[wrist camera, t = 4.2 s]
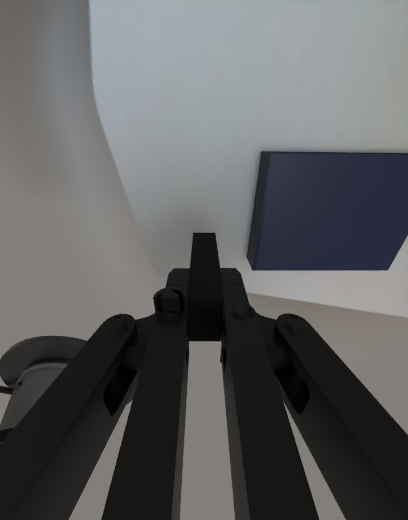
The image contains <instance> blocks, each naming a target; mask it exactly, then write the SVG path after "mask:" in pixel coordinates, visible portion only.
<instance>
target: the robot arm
mask: <svg viewBox="0 0 408 520" xmlns="http://www.w3.org/2000/svg"><path fill="white" fill-rule="evenodd" d="M153 299H154V305H155V313H154V314H152V315H151V316H148V317H145V318H141V319H137V320H135V319H134V318H133V317H132V316H131V315H128V314H119V315H114V316H112V317H111V318H108V319H107V320H106V321H105V322H104V323H103V324H102V325H101V326H100V327H99V328H98V329H97V331H96V332H95V333H94V334H93V335H92V336H91V338H90V339H89V340H88V341H87V342H86V343H85V345H84V346H83V347H82V348H81V349H80V351H79V352H78V353H77V354H76V355H75V356H74V358H73V359H67V358H48V359H42V360H38V361H36V362H33V363H32V364H30V365H29V366H28V367H27V368H26V369H25V370H24V372H23V373H22V374H21V376H20V377H19V379H18V381H17V383H16V385H15V387H14V388H9V387H4V386H0V393H5V394H11V398H10V400H9V403H8V406H7V408H6V411H5V414H4V417H3V419H2V422H1V424H0V520H69V517H70V516H71V514H72V512H73V510H74V508H75V506H76V503H77V502H78V500H79V497H80V496H81V494H82V492H83V490H84V488H85V486H86V484H87V482H88V480H89V478H90V476H91V474H92V472H93V470H94V468H95V466H96V464H97V461H98V460H99V458H100V456H101V454H102V452H103V450H104V448H105V446H106V444H107V442H108V440H109V438H110V436H111V434H112V432H113V430H114V428H115V426H116V424H117V422H118V420H119V418H120V416H121V414H122V412H123V410H124V408H125V406H126V404H127V402H128V400H129V398H130V396H131V394H132V392H133V390H134V388H135V386H136V389H135V393H134V397H133V401H132V405H131V409H130V413H129V416H128V420H127V424H126V427H125V431H124V435H123V439H122V443H121V447H120V450H119V454H118V458H117V462H116V466H115V470H114V474H113V477H112V481H111V485H110V489H109V492H108V497H107V500H106V504H105V508H104V512H103V516H102V519H101V520H180V503H181V502H180V501H181V486H182V468H183V450H184V433H185V414H186V397H187V379H188V363H189V341H221V343H222V346H221V357H220V362H222V370H223V382H224V394H225V404H226V417H227V429H228V441H229V452H230V464H231V474H232V488H233V499H234V511H235V520H319V517H318V514H317V511H316V507H315V504H314V501H313V497H312V494H311V491H310V488H309V484H308V481H307V478H306V475H305V472H304V468H303V465H302V461H301V458H300V455H299V452H298V448H297V445H296V442H295V439H294V435H293V432H292V429H291V426H290V423H289V419H288V416H287V412H286V409H285V406H284V403H285V405H286V407H287V409H288V410H289V412H290V414H291V416H292V418H293V420H294V422H295V424H296V425H297V428H298V429H299V431H300V433H301V435H302V437H303V439H304V441H305V443H306V445H307V447H308V448H309V450H310V452H311V454H312V456H313V458H314V460H315V462H316V464H317V465H318V467H319V469H320V471H321V473H322V475H323V477H324V479H325V481H326V482H327V484H328V486H329V488H330V490H331V492H332V494H333V496H334V498H335V500H336V501H337V503H338V505H339V507H340V509H341V511H342V513H343V515H344V517H345V519H346V520H408V435H407V434H406V433H405V432H404V430H403V429H402V428H401V427H400V426H399V425H398V424H397V422H396V421H395V420H394V419H393V418H392V417H391V416H390V414H389V413H388V412H387V411H386V410H385V409H384V408H383V407H382V405H381V404H380V403H379V402H378V401H377V400H376V399H375V397H374V396H373V395H372V394H371V393H370V392H369V391H368V390H367V388H366V387H365V386H364V385H363V384H362V383H361V382H360V380H359V379H358V378H357V377H356V376H355V375H354V374H353V373H352V372H351V370H350V369H349V368H348V367H347V366H346V365H345V363H344V362H343V361H342V360H341V359H340V358H339V357H338V356H337V354H336V353H335V352H334V351H333V350H332V349H331V348H330V346H329V345H328V344H327V343H326V342H325V341H324V340H323V339H322V337H321V336H320V335H319V334H318V333H317V332H316V331H315V330H314V328H313V327H312V326H311V325H310V324H309V323H308V322H307V321H306V320H305V319H303V318H302V317H300V316H298V315H294V314H283V315H280V316H279V317H278V318H277V320H275V319H271V318H267V317H264V316H261V315H259V314H257V313H256V312H255V310H254V308H253V307H251V306H250V304H249V301H248V298H247V294H246V291H245V287H244V284H243V281H242V277H241V273H240V272H239V271H238V270H237V269H236V268H220V264H219V257H218V250H217V242H216V235H215V233H193V241H192V252H191V263H190V268H174V269H173V270H172V271H171V272H170V273H169V275H168V279H167V284H166V287H165V288H164V289H161V290H160V291H158V292H157V293H156V294H155V295H154V297H153ZM136 384H137V385H136ZM283 401H284V402H283Z"/></svg>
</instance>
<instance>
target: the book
mask: <svg viewBox="0 0 408 520" xmlns="http://www.w3.org/2000/svg"><path fill="white" fill-rule="evenodd" d="M407 236H408V153H344V152H265V151H262V152H261V160H260V167H259V174H258V181H257V189H256V196H255V203H254V210H253V217H252V225H251V232H250V239H249V246H248V254H247V259H248V261H249V264H250V266H251V269H252V270H388V269H389V267H390V266H391V264H392V262H393V260H394V259H395V257H396V255H397V253H398V251H399V250H400V248H401V246H402V244H403V243H404V241H405V239H406V237H407Z"/></svg>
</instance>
